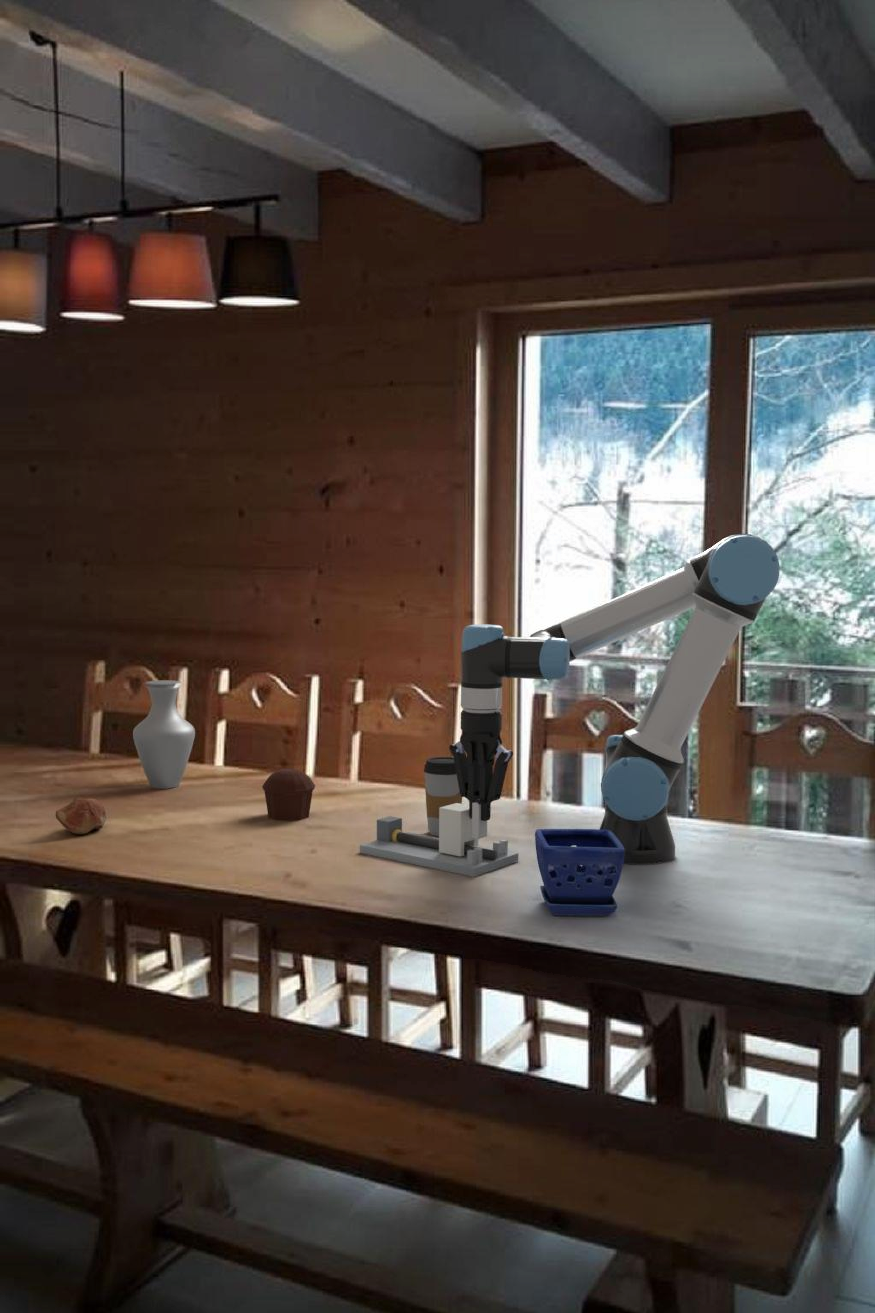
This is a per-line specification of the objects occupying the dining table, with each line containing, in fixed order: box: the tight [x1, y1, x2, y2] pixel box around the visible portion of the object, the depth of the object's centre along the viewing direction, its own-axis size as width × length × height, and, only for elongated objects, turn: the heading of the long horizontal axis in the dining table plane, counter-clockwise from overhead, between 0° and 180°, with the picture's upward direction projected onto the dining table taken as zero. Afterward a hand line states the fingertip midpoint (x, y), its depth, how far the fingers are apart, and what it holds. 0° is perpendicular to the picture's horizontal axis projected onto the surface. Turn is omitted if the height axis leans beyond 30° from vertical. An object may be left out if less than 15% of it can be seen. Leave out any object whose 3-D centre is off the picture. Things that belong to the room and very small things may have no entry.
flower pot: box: [534, 828, 625, 917], centre depth 213 cm, size 13×13×12 cm
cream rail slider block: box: [438, 803, 479, 856], centre depth 242 cm, size 5×5×8 cm
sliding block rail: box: [359, 815, 519, 877], centre depth 246 cm, size 27×14×6 cm, turn 52°
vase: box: [132, 679, 196, 790], centre depth 309 cm, size 14×14×25 cm
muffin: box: [262, 768, 316, 822], centre depth 279 cm, size 12×11×10 cm
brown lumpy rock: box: [55, 796, 107, 835], centre depth 264 cm, size 13×8×10 cm
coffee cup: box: [423, 756, 463, 837], centre depth 264 cm, size 8×8×15 cm
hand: (479, 837), depth 239 cm, fingers closed
